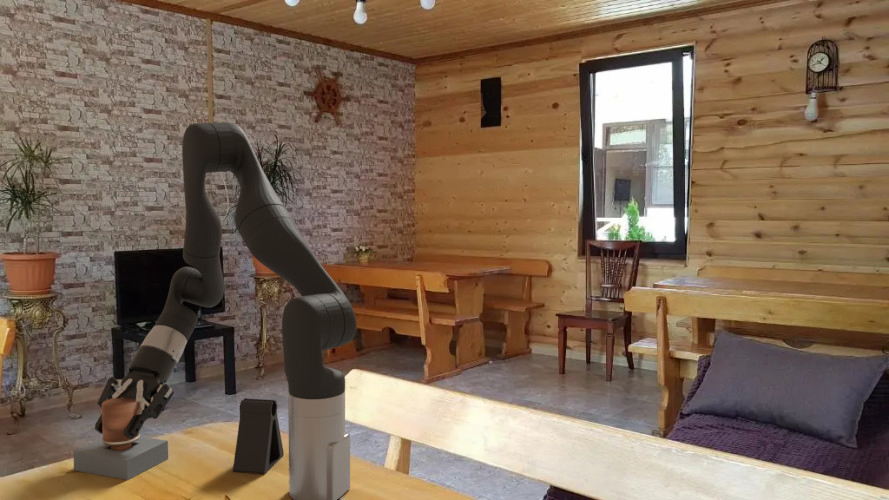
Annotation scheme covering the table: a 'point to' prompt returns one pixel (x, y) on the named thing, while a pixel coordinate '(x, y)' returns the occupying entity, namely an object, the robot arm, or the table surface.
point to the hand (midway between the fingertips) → (113, 434)
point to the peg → (118, 422)
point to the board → (121, 458)
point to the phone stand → (258, 437)
